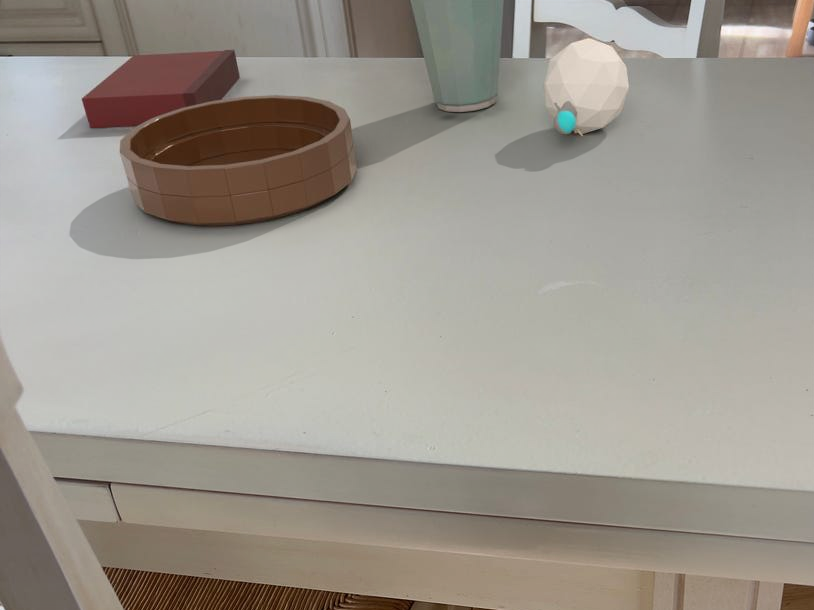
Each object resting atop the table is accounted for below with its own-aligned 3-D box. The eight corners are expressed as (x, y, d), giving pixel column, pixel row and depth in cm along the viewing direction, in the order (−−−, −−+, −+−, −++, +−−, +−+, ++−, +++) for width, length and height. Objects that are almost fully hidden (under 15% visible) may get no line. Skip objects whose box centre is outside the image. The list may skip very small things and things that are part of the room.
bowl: (104, 234, 85) (85, 174, 82) (173, 154, 100) (160, 100, 97) (336, 225, 83) (326, 164, 80) (371, 145, 98) (364, 90, 95)
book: (89, 128, 108) (80, 98, 106) (140, 82, 122) (133, 54, 120) (200, 123, 107) (193, 92, 105) (240, 77, 120) (234, 49, 118)
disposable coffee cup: (468, 125, 101) (457, -47, 91) (392, 109, 107) (373, -55, 97) (534, 97, 107) (530, -68, 97) (459, 83, 113) (447, -74, 103)
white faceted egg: (652, 77, 97) (628, 134, 90) (585, 125, 102) (557, 183, 95) (605, 6, 94) (575, 59, 86) (538, 59, 99) (505, 114, 91)
